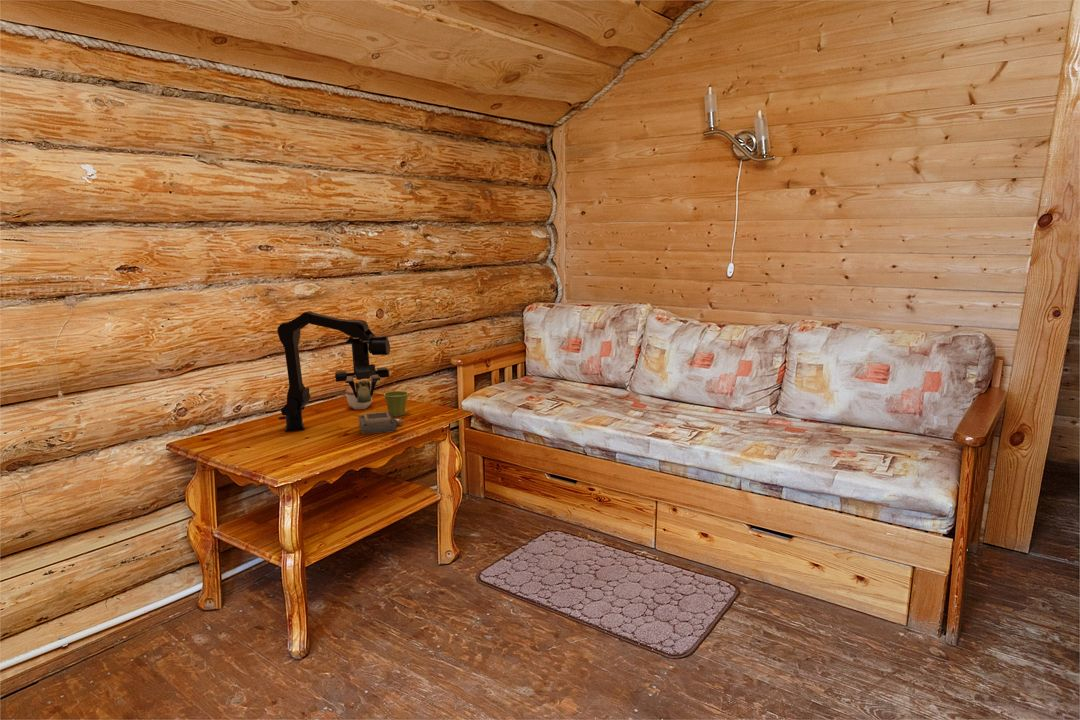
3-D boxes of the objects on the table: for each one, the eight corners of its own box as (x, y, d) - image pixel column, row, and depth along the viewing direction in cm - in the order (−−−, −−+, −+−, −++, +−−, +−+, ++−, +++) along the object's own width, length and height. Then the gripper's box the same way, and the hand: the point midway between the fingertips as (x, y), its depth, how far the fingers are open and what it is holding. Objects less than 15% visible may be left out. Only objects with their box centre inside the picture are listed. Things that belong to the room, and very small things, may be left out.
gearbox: (359, 423, 243) (358, 412, 242) (399, 420, 248) (399, 408, 247) (362, 434, 230) (361, 422, 229) (404, 430, 235) (404, 418, 234)
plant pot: (385, 412, 259) (384, 391, 257) (409, 410, 261) (408, 390, 259) (384, 418, 250) (383, 397, 248) (409, 417, 252) (408, 395, 250)
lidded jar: (348, 404, 270) (346, 383, 268) (374, 403, 272) (373, 382, 270) (345, 411, 260) (343, 389, 258) (372, 410, 261) (371, 388, 260)
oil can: (356, 400, 236) (355, 380, 234) (370, 398, 237) (369, 379, 236) (357, 404, 229) (356, 384, 228) (372, 403, 231) (370, 383, 229)
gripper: (334, 361, 220) (337, 405, 223) (389, 357, 226) (392, 399, 229) (333, 356, 231) (337, 398, 234) (386, 351, 237) (389, 392, 240)
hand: (363, 397), depth 234 cm, fingers closed on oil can, 5 cm apart
